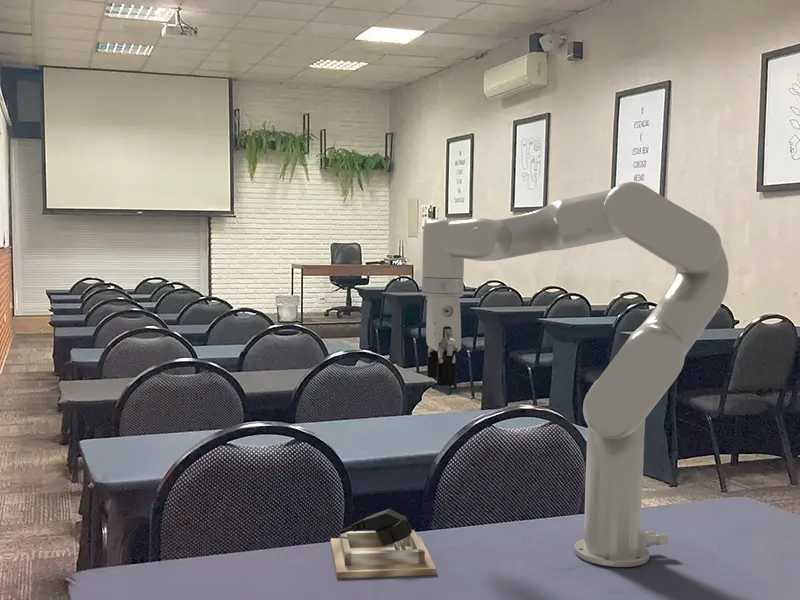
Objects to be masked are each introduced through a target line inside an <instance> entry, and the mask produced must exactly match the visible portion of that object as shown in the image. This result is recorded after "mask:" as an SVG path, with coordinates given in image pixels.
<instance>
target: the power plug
mask: <svg viewBox="0 0 800 600" xmlns="http://www.w3.org/2000/svg"><path fill="white" fill-rule="evenodd" d="M369 529H374V531H375V532H376V534H377V537H378V539H379V542H380V544H381V546H386V545H390V544H393V545H394V548H395V550H400V548H399V545H400V547H401V550H406V548H405V545H404V543H403V540H402V539H404V538H406V537H408V536H409V535H410V533H412V531H411V530H412V529H411V526H410V524H409V521H408V519H407V516H406V515H404V514H401V513H399V512H396V511H394V510H393V509H391V508H388V509H385V510H382V511H379V512H377V513H374V514H372V515H368V516H367V517H365V518H363V519H360V520H358V521H357V522H354V523H353V524H352V525H351V526H348V527H346V528H344V529H343V528H342V529H340V530H339V532H338V533H339V534H343V533H346V532H349V531H354V532H355V531H366V530H369ZM397 541H398V542H399V545H398V543H397Z"/></svg>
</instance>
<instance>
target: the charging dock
mask: <svg viewBox="0 0 800 600" xmlns="http://www.w3.org/2000/svg"><path fill="white" fill-rule="evenodd" d="M411 531H412V533H410V535H409V536H408V537H406V538H404V539H402V540H403V543H404V545H405V548H406V550H401V547H400V545H399V542H398V541H397V543H398V545H399V548H400V550H395V548H394V545H393V544H390V545H386V546H381V544H380V542H379V539H378V537H377V534H376V532H375V530H360V531H355V532H354V531H353V530H352V531H349V532H346V533H343V534H340V533H339V534H340V535H339V537H338V538H335V537H333V538H332V537H331V538H330V549H331V555H332V558H333V565H334V570H335V572H334V573H335V577H336V579H358V578H359V579H360V578H381V577H382V578H386V577H388V578H389V577H411V576H412V577H414V576H417V577H418V576H436V575H437V567H436V565H435V563H434V561H433V560H432V557H431V556H430V553H429V551H428V549H427V547H426V546H425V544H424V541H423V539H422V537H421V536H420V535H418V534H417V533H416V531H415V529H411Z"/></svg>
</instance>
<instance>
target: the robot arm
mask: <svg viewBox="0 0 800 600" xmlns="http://www.w3.org/2000/svg"><path fill="white" fill-rule="evenodd" d="M422 230H423V231H422V270H421V271H422V278H421V279H422V280H421V296H423V297H427V302H426V321H425V323H426V324H425V325H426V326H425V329H426V330H425V332H426V333H425V336H426V337H425V339H426V345H427V346H428V348H427V349H428V350H427V355H428V356H427V370H426V374H427V375H426V376H427V377H428V378H431V379H432V378H433V379H435V378H436V385H437V386H441V387H442V386H443V387H444V386H445V387H447V386H448V387H454V386H455V385H456V366H457V365H456V352H459V351H460V350H461V349H462V318H461V317H462V316H461V314H462V313H461V303H460V302H461V301H460V298H461V297H464V281H465V280H464V278H465V277H464V275H465V274H464V271H465V259H466V260H470V261H479V262H494V261H500V260H501V261H502V260H506V259H512V258H516V257H521V256H527V255H532V254H537V253H543V252H548V251H561V250H568V249H572V248H577V247H583V246H587V245H592V244H597V243H598V244H599V243H604V242H608V241H616V240H619V239H625V238H627V239H628V240H630V241H632V242H633V243H635V244H636V245H638V246H639V247H641V248H643V249H644V250H646V251H648V252H649V253H651V254H652V255H655V257H658V258H659V259H661V260H662V261H665V262H666V263H667V264H669V265H671V267H672V266H673V267H674V268H675V273H674V274H675V275H674V279H673V281H672V283H671V285H670V286H669V288H668V289H667V290H666V291H665V293H664V294H663V296H662V297H661V299H660V300H659V302H658V303H657V304H656V306H655V307H654V308H653V309H652V311H651V313H649V315H648V316H647V318H646V319H645V320H644V321H643V323H642V324H641V325H639V327H638V328H636V329H635V330H634V331H633V332H632V333H631V334H630V335H629V337H628V338H627V340H626V341H625V343H624V344H623V345H622V346H621V348H620V349H619V351H618V352H617V353H616V355H615V356H614V357H613V359H612V360H611V361H610V362H609V364H608V365H607V367H606V368H605V369H604V371H603V372H602V374H601V375H600V376H599V377H598V379H596V380H595V381H594V383H593V384H592V385H591V387H590V388H589V389H588V392H587V393H586V395H585V396H584V400H583V404H582V414H583V418H584V420H585V423H586V424H587V434H586V435H587V438H586V462H585V489H584V490H585V491H584V492H585V493H584V518H583V519H584V524H583V526H584V527H583V538H581V539H579V540H577V541H576V542H575V544H574V548H573V550H574V553H575V554H576V556H577V557H579V558H580V559H581V560H584V561H586V562H589V563H593V564H595V565H600V566H604V567H613V568H629V567H638V566H641V565H644V564H646V563H648V561H649V559H650V550H649V548H650V547H651V546H667V545H668V543H669V537H668V536H667V534H666V533H655V532H654V530H646V531H644V530H643V529H642V511H643V510H642V509H643V508H642V507H643V506H642V503H643V502H642V501H643V481H644V480H643V475H644V472H643V471H644V456H645V455H644V453H645V452H644V451H645V431H646V430H645V429H646V418H647V417H648V415H650V413H651V411H652V410H653V409H654V408H655V406H657V404H658V403H659V401H660V400H661V399H662V397H664V395H665V394H666V393H667V391H668V390H669V389H670V387H671V386H672V385H673V384H674V382H675V381H676V379H677V378H678V376H679V375H680V373H681V372H682V370H683V367H684V364H685V360H686V359H685V358H686V355H688V352H689V351H690V350H691V348H692V347H693V345H694V344H695V343H696V341H697V340H698V339H699V338H700V336H701V335H702V333H703V332H704V330H705V329H706V327H707V326H708V325H709V323H710V322H711V320H712V319H713V318H714V316H715V314H716V313H717V311H718V310H719V308H720V307H721V305H722V303H723V301H724V299H725V296H726V295H727V289H728V285H729V274H730V273H729V264H728V259H727V256H726V252H725V251H724V250H725V249H724V247H723V246H722V238H721V236H720V233H719V232H718V230H717V229H716V228H715V226H713V225H712V224H710V223H709V222H708V221H706V220H704V219H703V218H701V217H699V216H698V215H695V214H694V213H692V212H690V211H688V210H686V209H685V208H683V207H682V206H680V205H678V204H676V203H675V202H673V201H671V200H669V199H668V198H666V197H664V196H662V195H661V194H659V193H658V192H656V191H655V190H653V189H652V188H650V187H649V186H648V185H645V184H643V183H640V182H637V181H629V182H623V183H620V184H618V185H617V186H615V187H613V188H612V189H608V190H603V191H598V192H593V193H589V194H584V195H580V196H573V197H568V198H563V199H559V200H556V201H553V202H551V203H549V204H548V205H546V206H544V207H542V208H540V209H538V210H535V211H532V212H529V213H528V212H527V213H523V214H518V215H515V216H514V215H513V216H509V217H506V218H505V217H504V218H499V219H489V218H484V217H483V218H472V219H467V220H456V219H429V220H427V221H425V223H424V225H423V228H422Z"/></svg>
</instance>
